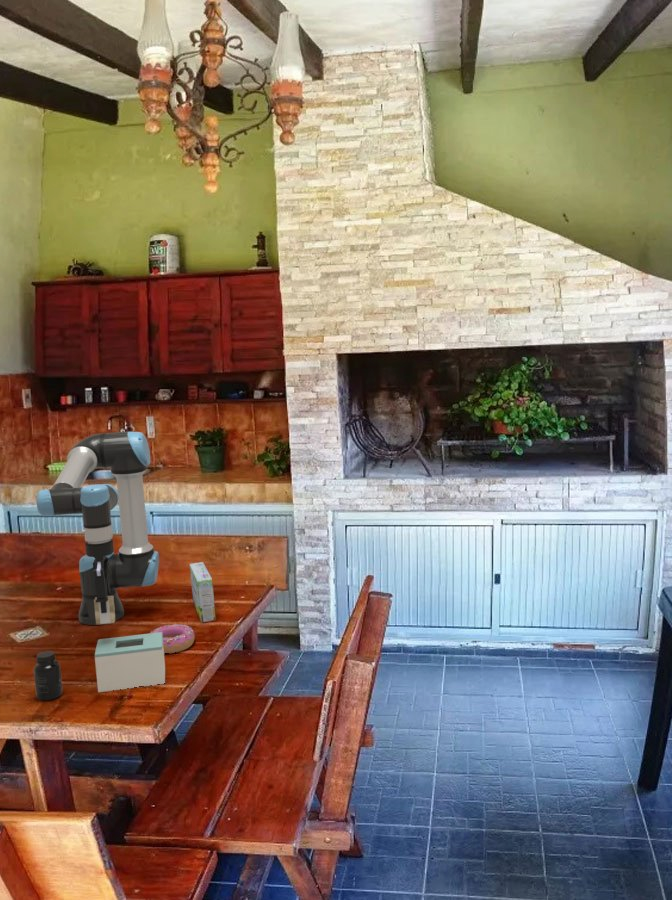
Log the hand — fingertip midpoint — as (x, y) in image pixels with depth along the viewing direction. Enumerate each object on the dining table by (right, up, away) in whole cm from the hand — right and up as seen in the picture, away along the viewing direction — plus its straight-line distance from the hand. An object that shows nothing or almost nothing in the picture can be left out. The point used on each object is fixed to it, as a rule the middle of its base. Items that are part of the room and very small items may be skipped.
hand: (106, 620), depth 221 cm
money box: (+7, -17, +1) cm, 19 cm away
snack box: (+19, -9, +52) cm, 56 cm away
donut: (+14, -13, +24) cm, 31 cm away
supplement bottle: (-13, -19, -7) cm, 25 cm away
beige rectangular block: (0, 0, 0) cm, 0 cm away
